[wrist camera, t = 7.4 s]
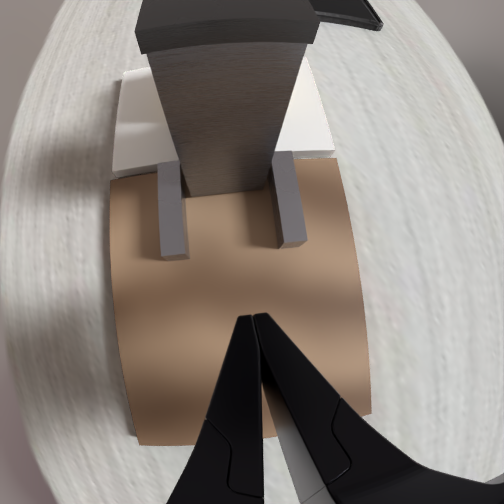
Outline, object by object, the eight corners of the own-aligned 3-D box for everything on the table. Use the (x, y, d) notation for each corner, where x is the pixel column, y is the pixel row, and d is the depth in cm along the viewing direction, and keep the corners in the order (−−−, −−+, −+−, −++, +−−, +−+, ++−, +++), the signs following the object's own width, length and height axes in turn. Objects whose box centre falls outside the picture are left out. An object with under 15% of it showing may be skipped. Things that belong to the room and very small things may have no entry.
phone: (386, 28, 21) (241, 11, 20) (382, 35, 22) (240, 19, 21) (361, -8, 23) (235, -21, 21) (359, -1, 24) (234, -14, 22)
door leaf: (364, 408, 16) (371, 413, 15) (143, 438, 15) (139, 445, 14) (331, 164, 18) (336, 158, 18) (116, 186, 17) (110, 180, 16)
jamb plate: (330, 157, 19) (335, 150, 18) (117, 177, 17) (111, 171, 16) (303, 64, 20) (306, 56, 19) (126, 79, 19) (123, 72, 18)
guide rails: (299, 246, 16) (307, 240, 15) (168, 261, 16) (160, 256, 14) (285, 164, 17) (291, 150, 15) (164, 176, 16) (157, 163, 15)
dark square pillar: (264, 191, 16) (320, 21, 5) (189, 198, 16) (134, 31, 5) (244, 64, 18) (259, -76, 7) (185, 69, 18) (168, -71, 6)
